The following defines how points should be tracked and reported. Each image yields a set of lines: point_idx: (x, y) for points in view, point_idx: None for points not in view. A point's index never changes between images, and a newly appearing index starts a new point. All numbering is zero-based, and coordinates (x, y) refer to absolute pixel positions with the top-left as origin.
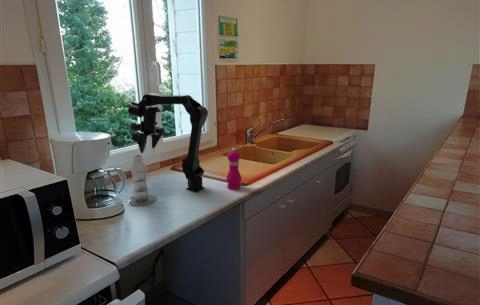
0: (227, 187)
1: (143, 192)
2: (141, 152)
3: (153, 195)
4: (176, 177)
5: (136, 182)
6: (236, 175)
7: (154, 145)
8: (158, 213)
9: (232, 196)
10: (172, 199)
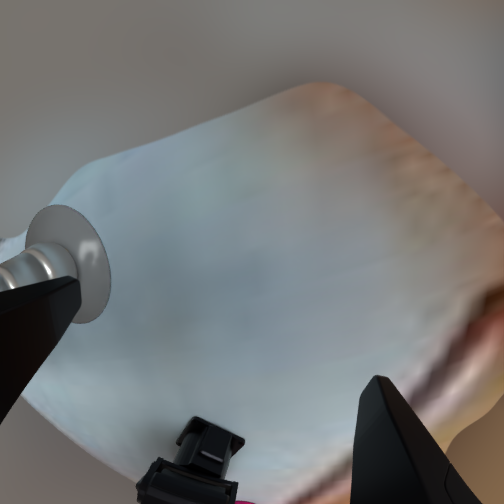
0: (238, 502)
1: None
2: (66, 289)
3: (105, 303)
4: (358, 357)
5: None
6: None
7: (358, 444)
8: None
9: None
10: (102, 375)
